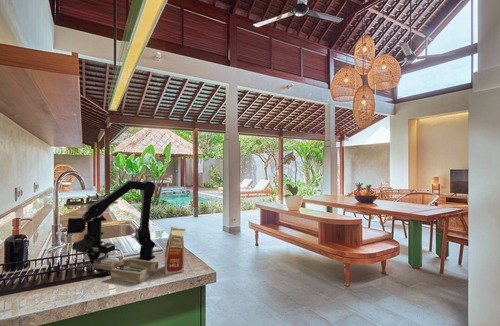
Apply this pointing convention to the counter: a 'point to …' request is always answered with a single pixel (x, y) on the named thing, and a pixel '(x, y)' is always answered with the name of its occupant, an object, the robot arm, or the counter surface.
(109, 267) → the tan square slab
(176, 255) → the milk carton
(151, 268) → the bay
